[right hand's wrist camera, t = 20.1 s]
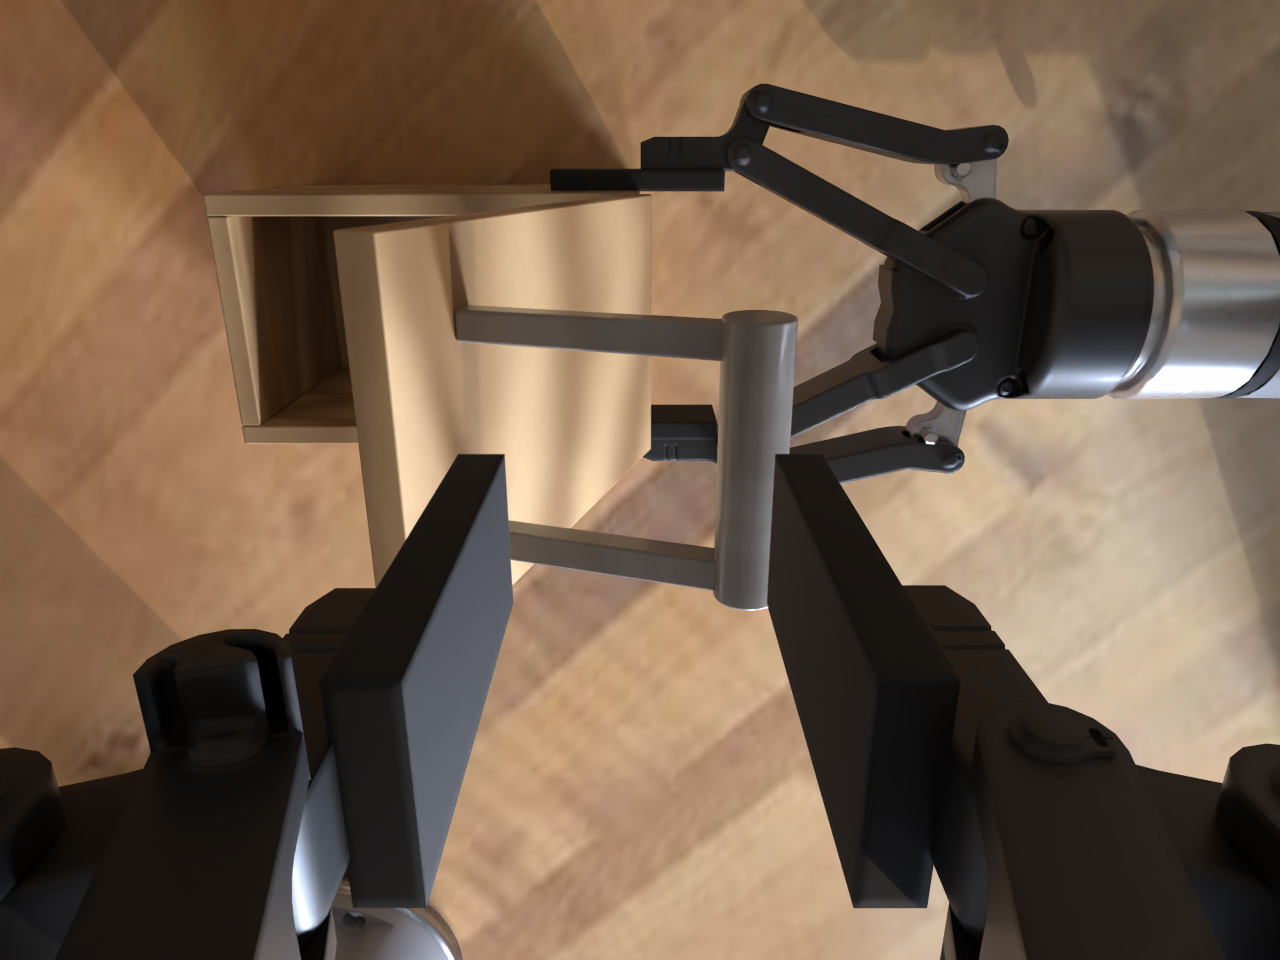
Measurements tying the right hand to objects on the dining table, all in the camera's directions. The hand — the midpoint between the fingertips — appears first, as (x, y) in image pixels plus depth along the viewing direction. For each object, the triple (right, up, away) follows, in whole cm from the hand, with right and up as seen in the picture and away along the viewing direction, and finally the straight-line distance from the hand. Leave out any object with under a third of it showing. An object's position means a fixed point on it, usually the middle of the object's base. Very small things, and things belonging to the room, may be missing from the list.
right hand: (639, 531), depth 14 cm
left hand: (-3, +8, +21) cm, 23 cm away
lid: (-3, +4, +10) cm, 11 cm away
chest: (-8, +10, +27) cm, 30 cm away
